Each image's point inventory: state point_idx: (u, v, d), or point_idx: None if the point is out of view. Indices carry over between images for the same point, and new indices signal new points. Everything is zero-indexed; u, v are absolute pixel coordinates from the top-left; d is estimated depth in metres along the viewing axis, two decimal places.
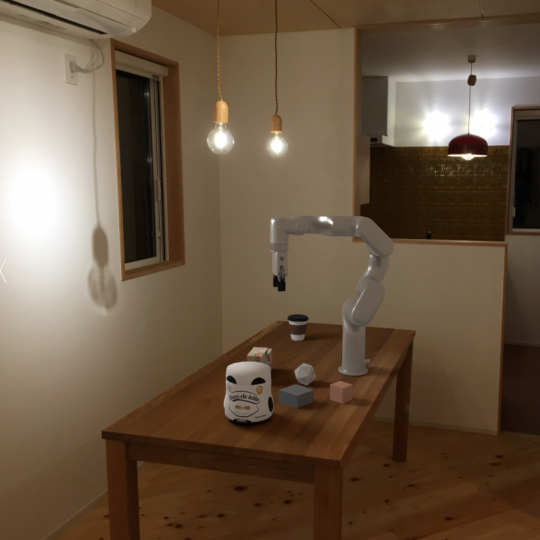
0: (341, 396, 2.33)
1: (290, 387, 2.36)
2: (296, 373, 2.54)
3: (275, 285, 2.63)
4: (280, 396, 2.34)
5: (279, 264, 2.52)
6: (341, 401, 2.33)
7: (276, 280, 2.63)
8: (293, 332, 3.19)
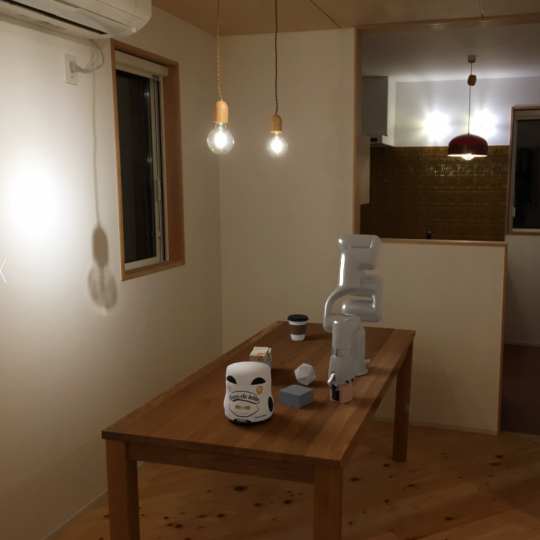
0: (341, 396, 2.33)
1: (289, 387, 2.36)
2: (296, 373, 2.54)
3: None
4: (280, 397, 2.33)
5: None
6: (341, 401, 2.33)
7: None
8: (293, 332, 3.19)
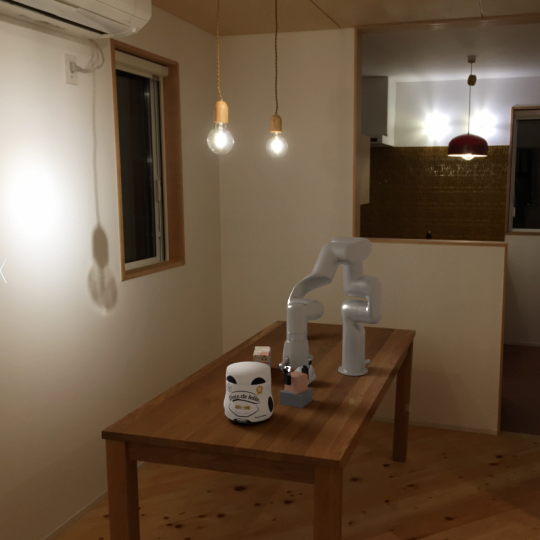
0: (295, 386, 2.30)
1: None
2: None
3: None
4: (281, 398, 2.32)
5: None
6: (295, 391, 2.30)
7: None
8: None
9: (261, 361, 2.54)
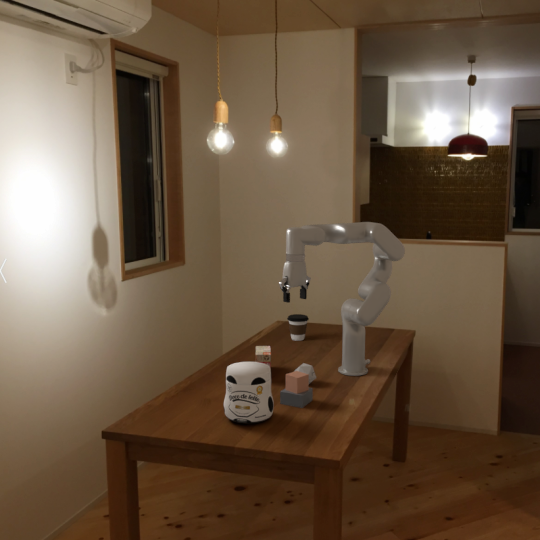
0: (296, 386, 2.30)
1: None
2: None
3: None
4: (281, 398, 2.32)
5: None
6: (296, 391, 2.30)
7: None
8: (293, 332, 3.19)
9: (263, 361, 2.54)
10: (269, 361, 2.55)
